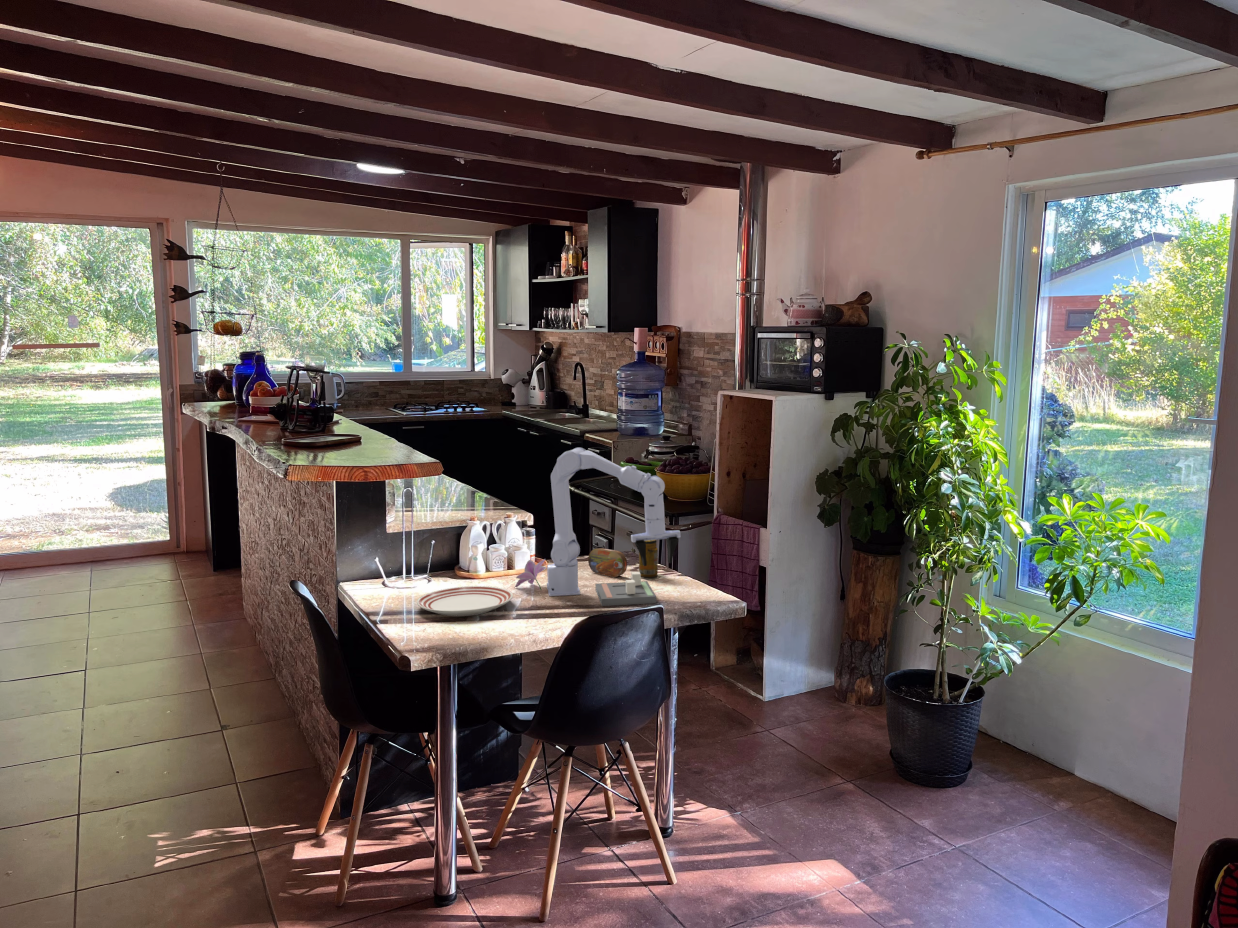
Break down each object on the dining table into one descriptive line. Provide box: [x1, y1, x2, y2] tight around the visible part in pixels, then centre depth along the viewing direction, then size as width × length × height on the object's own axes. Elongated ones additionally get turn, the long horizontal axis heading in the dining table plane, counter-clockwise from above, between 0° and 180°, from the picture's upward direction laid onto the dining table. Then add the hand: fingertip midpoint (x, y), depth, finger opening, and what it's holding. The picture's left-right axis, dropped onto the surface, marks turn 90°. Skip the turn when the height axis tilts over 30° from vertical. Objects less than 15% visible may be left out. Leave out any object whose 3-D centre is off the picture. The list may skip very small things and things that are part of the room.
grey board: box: [594, 580, 657, 607], centre depth 276 cm, size 16×17×2 cm
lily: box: [514, 558, 547, 591], centre depth 286 cm, size 12×12×10 cm
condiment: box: [638, 540, 668, 581], centre depth 298 cm, size 7×8×12 cm
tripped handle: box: [625, 579, 635, 594], centre depth 271 cm, size 2×3×4 cm
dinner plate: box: [416, 585, 514, 617], centre depth 267 cm, size 27×27×3 cm
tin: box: [587, 547, 628, 578], centre depth 301 cm, size 15×3×8 cm, turn 50°
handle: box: [630, 571, 642, 586], centre depth 280 cm, size 2×3×4 cm
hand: (657, 563), depth 272 cm, fingers open, 7 cm apart
